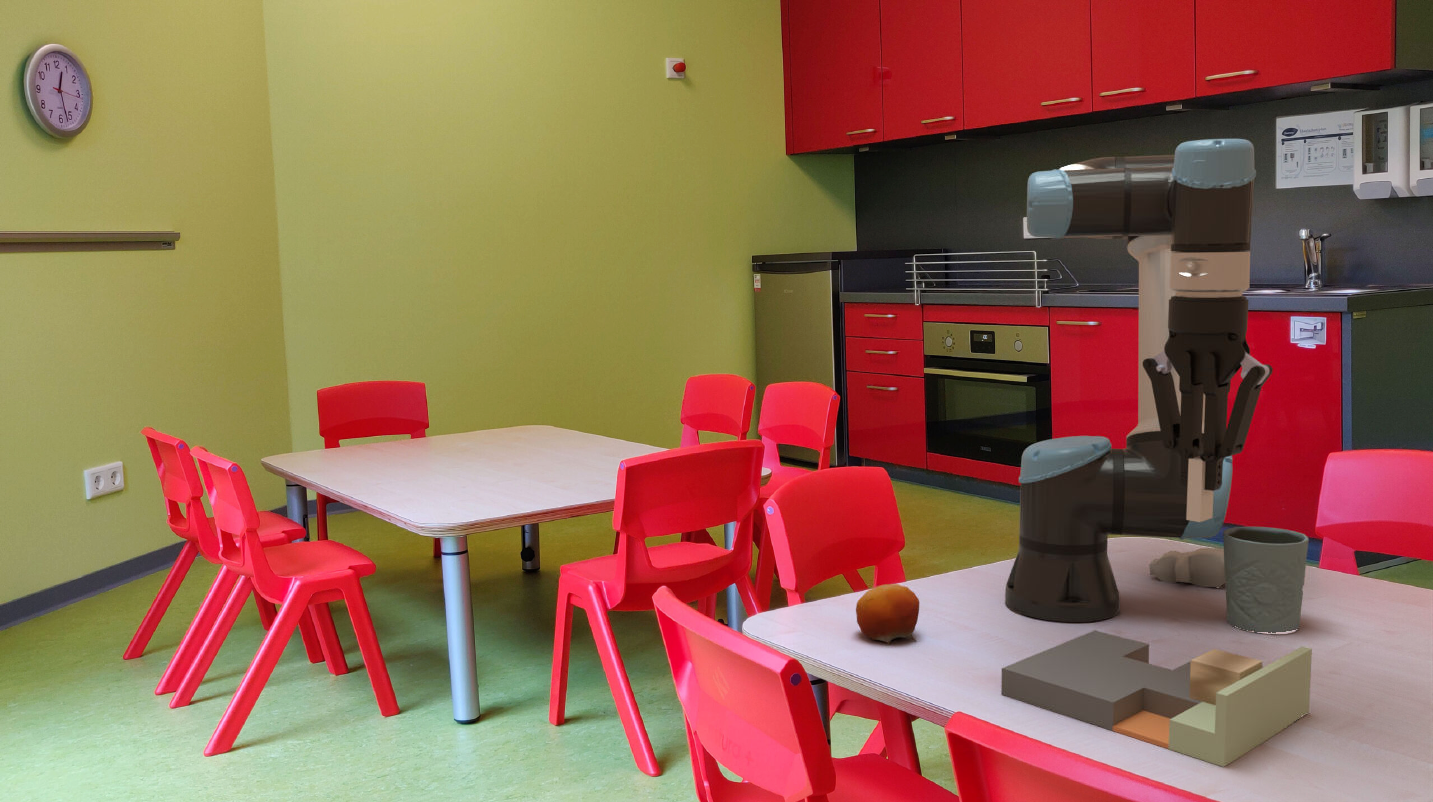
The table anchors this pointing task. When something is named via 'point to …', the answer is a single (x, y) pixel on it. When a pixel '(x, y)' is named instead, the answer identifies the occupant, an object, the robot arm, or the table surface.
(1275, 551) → the embossed grey cup
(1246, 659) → the block
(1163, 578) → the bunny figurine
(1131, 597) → the table surface
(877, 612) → the fruit
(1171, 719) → the box
